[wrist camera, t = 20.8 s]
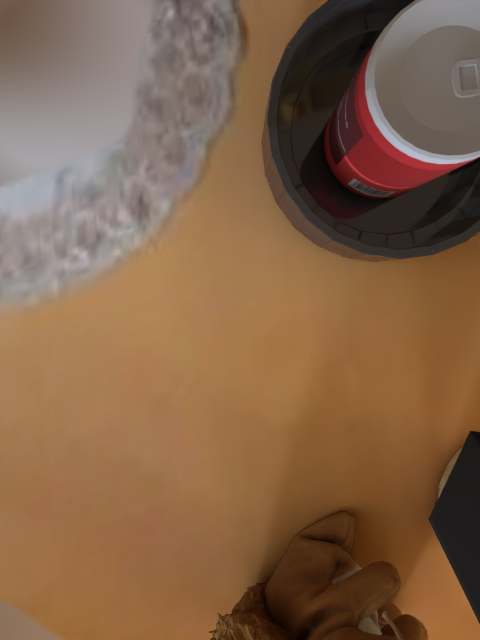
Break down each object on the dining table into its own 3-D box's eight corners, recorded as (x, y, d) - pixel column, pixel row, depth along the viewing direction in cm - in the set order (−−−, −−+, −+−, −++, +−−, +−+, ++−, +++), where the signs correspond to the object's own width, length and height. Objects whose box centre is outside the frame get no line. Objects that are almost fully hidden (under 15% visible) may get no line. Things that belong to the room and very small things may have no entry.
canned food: (450, 174, 32) (565, 119, 21) (345, 219, 32) (405, 189, 21) (411, 69, 31) (509, -45, 20) (304, 116, 31) (343, 28, 20)
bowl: (227, 81, 31) (225, 39, 26) (442, -10, 31) (487, -72, 26) (311, 294, 33) (326, 298, 27) (517, 210, 33) (575, 196, 27)
